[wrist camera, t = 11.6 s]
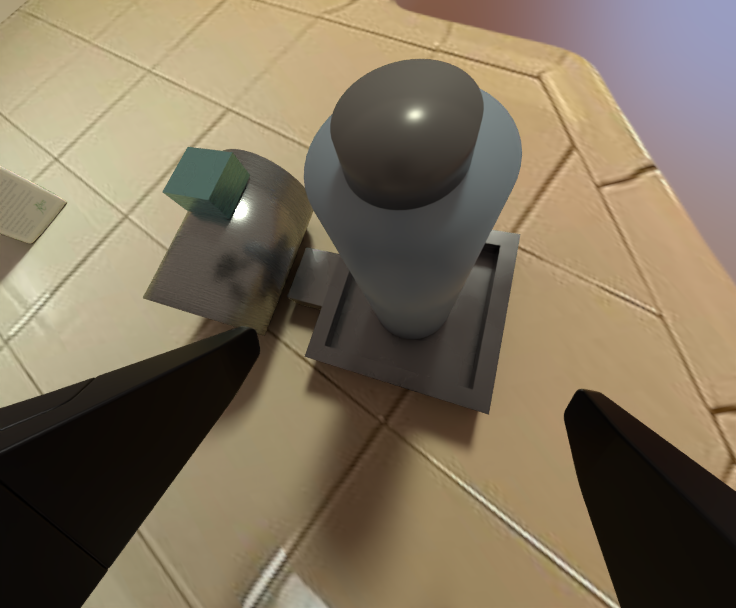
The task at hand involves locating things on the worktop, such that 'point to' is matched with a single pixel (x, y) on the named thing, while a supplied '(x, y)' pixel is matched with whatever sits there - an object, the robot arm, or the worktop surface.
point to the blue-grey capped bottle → (412, 186)
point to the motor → (319, 280)
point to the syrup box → (25, 207)
